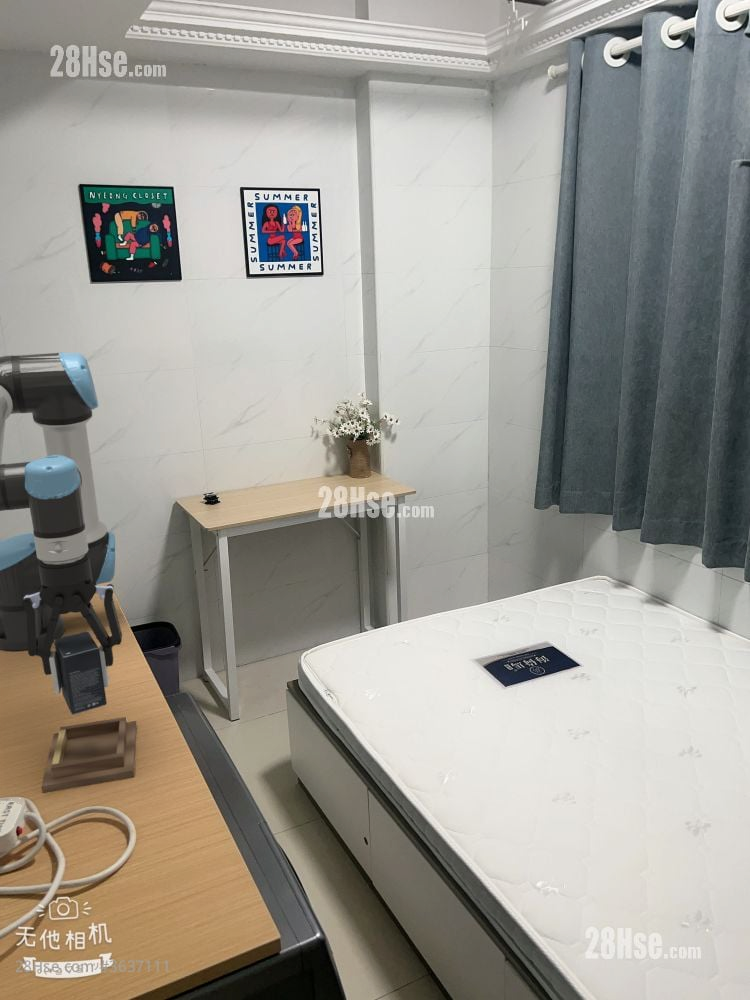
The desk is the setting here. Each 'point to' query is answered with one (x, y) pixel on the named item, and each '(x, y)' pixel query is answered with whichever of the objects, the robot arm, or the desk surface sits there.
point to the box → (80, 672)
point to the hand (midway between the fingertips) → (82, 686)
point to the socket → (91, 754)
